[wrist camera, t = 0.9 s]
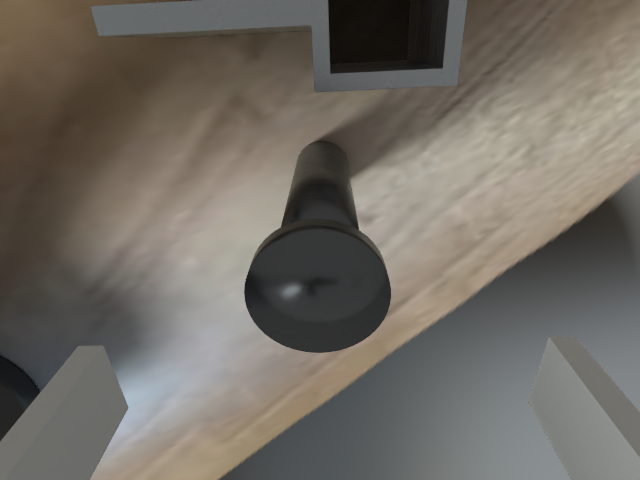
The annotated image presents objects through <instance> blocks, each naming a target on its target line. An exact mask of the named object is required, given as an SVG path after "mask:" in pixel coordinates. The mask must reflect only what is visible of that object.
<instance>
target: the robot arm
mask: <svg viewBox="0 0 640 480" xmlns="http://www.w3.org/2000/svg"><path fill="white" fill-rule="evenodd" d="M528 403H529V405H530V407H531V409H532V410H533V412H534V414H535V416H536V417H537V419H538V421H539V423H540V425H541V426H542V428H543V430H544V432H545V434H546V435H547V437H548V439H549V441H550V443H551V444H552V446H553V448H554V450H555V452H556V453H557V455H558V457H559V459H560V461H561V462H562V464H563V466H564V468H565V469H566V471H567V473H568V475H569V477H570V478H571V480H640V412H639V411H638V410H637V408H636V407H635V406H634V405H633V404H632V403H631V401H630V400H629V399H628V398H627V397H626V396H625V394H624V393H623V392H622V391H621V390H620V388H619V387H618V386H617V385H616V384H615V382H614V381H613V380H612V379H611V378H610V376H609V375H608V374H607V373H606V372H605V371H604V369H603V368H602V367H601V366H600V365H599V363H598V362H597V361H596V360H595V359H594V358H593V356H592V355H591V354H590V353H589V352H588V351H587V349H586V348H585V347H584V346H583V345H582V343H581V342H580V341H579V340H578V339H577V337H549V339H548V342H547V346H546V348H545V352H544V355H543V358H542V361H541V364H540V368H539V371H538V374H537V377H536V380H535V383H534V386H533V389H532V392H531V396H530V399H529V402H528ZM127 410H128V405H127V403H126V400H125V398H124V395H123V393H122V390H121V388H120V385H119V383H118V380H117V378H116V375H115V373H114V370H113V368H112V365H111V363H110V360H109V358H108V355H107V353H106V350H105V348H104V346H103V345H91V346H78V347H77V348H76V349H75V351H74V352H73V353H72V354H71V355H70V357H69V358H68V359H67V360H66V362H65V363H64V364H63V365H62V366H61V368H60V369H59V370H58V371H57V373H56V374H55V375H54V376H53V377H52V379H51V380H50V381H49V382H48V384H47V385H46V386H45V387H44V389H43V390H42V391H41V392H40V393H39V392H38V390H37V388H36V387H35V385H34V384H33V383H32V381H31V380H30V379H29V378H28V377H27V376H26V375H25V374H24V373H23V372H22V371H21V370H19V369H18V368H17V367H16V366H14V365H13V364H11V363H10V362H8V361H7V360H5V359H3V358H2V357H0V480H90V478H91V476H92V474H93V472H94V471H95V469H96V467H97V465H98V463H99V461H100V459H101V458H102V456H103V454H104V452H105V450H106V448H107V447H108V445H109V443H110V441H111V439H112V437H113V435H114V434H115V432H116V430H117V428H118V426H119V424H120V422H121V421H122V419H123V417H124V415H125V413H126V411H127Z"/></svg>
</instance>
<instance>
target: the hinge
mask: <svg viewBox="0 0 640 480" xmlns="http://www.w3.org/2000/svg"><path fill="white" fill-rule="evenodd" d="M90 7H91V11H92V14H93V18H94V21H95V25H96V28H97V32H98V36H113V37H155V38H176V37H195V36H214V35H233V34H253V33H272V32H291V31H310V30H312V48H313V68H314V89H315V92H330V91H351V90H373V89H394V88H416V87H438V86H458V77H459V68H460V60H461V51H462V42H463V34H464V25H465V16H466V7H467V0H411V3H410V21H409V39H408V57H407V60H402V61H382V62H361V63H341V64H330V48H329V15H328V0H193V1H175V2H157V3H139V4H121V5H103V6H90Z"/></svg>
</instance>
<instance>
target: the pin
mask: <svg viewBox="0 0 640 480" xmlns="http://www.w3.org/2000/svg"><path fill="white" fill-rule="evenodd" d="M244 293H245V302H246V306H247V309H248V311H249V314H250V316H251V317H252V319H253V321H254V322H255V324H256V325H257V326H258V327H259V328H260V329H261V330H262V331H263V332H264V333H265V334H266V335H267V336H269V337H270V338H271V339H273V340H274V341H276V342H278V343H280V344H282V345H284V346H286V347H289V348H292V349H295V350H300V351H305V352H315V353H323V352H332V351H338V350H342V349H345V348H348V347H351V346H353V345H355V344H357V343H359V342H361V341H363V340H364V339H366V338H367V337H368V336H370V335H371V334H372V333H373V332H374V331H375V330H376V329H377V328H378V327H379V326H380V324H381V323H382V321H383V320H384V318H385V316H386V314H387V312H388V309H389V305H390V299H391V287H390V282H389V278H388V274H387V270H386V266H385V263H384V260H383V257H382V255H381V253H380V251H379V250H378V248H377V247H376V245H375V244H374V243H373V242H372V241H371V240H370V239H369V238H368V237H367V236H366V235H365V234H363V233H362V232H361V231H359V227H358V221H357V216H356V210H355V204H354V198H353V192H352V187H351V181H350V175H349V169H348V163H347V159H346V156H345V154H344V153H343V151H342V150H341V149H340V148H339V147H338V146H336V145H335V144H333V143H330V142H326V141H318V142H314V143H311V144H309V145H308V146H306V147H305V148H304V149H303V150H302V151H301V153H300V155H299V157H298V160H297V164H296V168H295V172H294V176H293V180H292V184H291V188H290V192H289V197H288V201H287V205H286V209H285V213H284V217H283V221H282V225H281V228H279V229H278V230H276V231H275V232H273V233H272V234H271V235H269V236H268V237H267V238H266V239H265V240H264V241H263V243H262V244H261V245H260V246H259V248H258V249H257V251H256V253H255V255H254V258H253V260H252V263H251V266H250V269H249V272H248V275H247V278H246V282H245V291H244Z"/></svg>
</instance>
